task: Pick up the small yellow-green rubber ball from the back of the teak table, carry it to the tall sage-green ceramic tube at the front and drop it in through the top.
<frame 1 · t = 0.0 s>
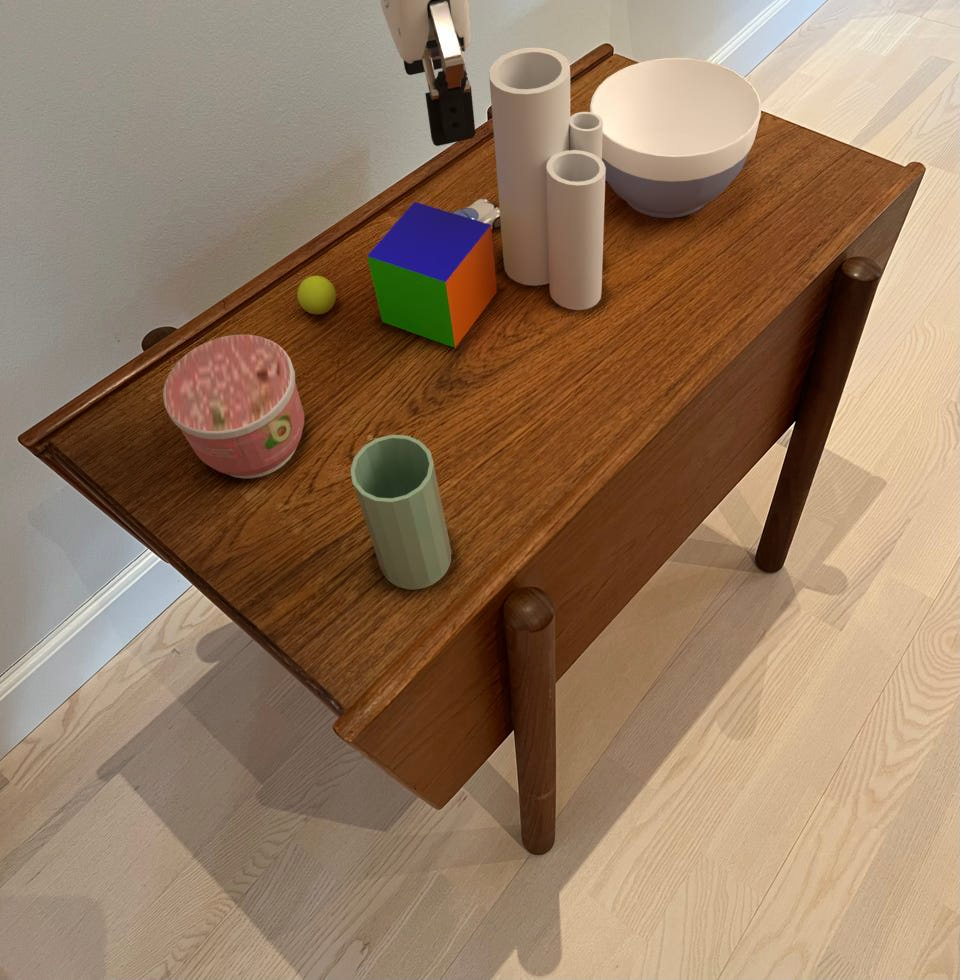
hand: (439, 103, 72), 21 cm above the table, tool pointing down, fingers open, 9 cm apart
cube: (440, 308, 89), on the table
container: (255, 444, 82), on the table
ball: (316, 295, 89), point 2 cm above the table
tube: (415, 558, 74), on the table
bowl: (666, 190, 97), on the table
toy car: (475, 228, 96), on the table
vase: (558, 272, 91), on the table
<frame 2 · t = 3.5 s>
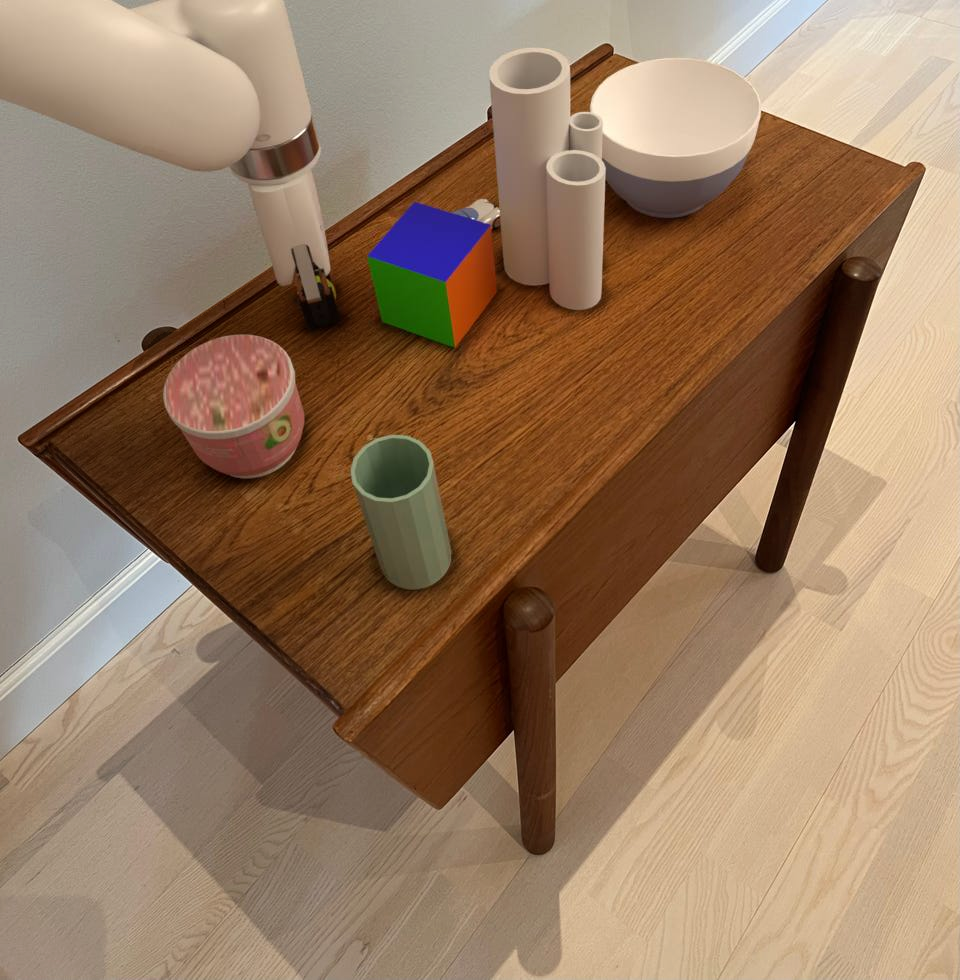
hand: (320, 307, 90), 0 cm above the table, tool pointing down, fingers closed on ball, 3 cm apart
ball: (316, 295, 89), point 2 cm above the table, touching gripper
everything else where it was.
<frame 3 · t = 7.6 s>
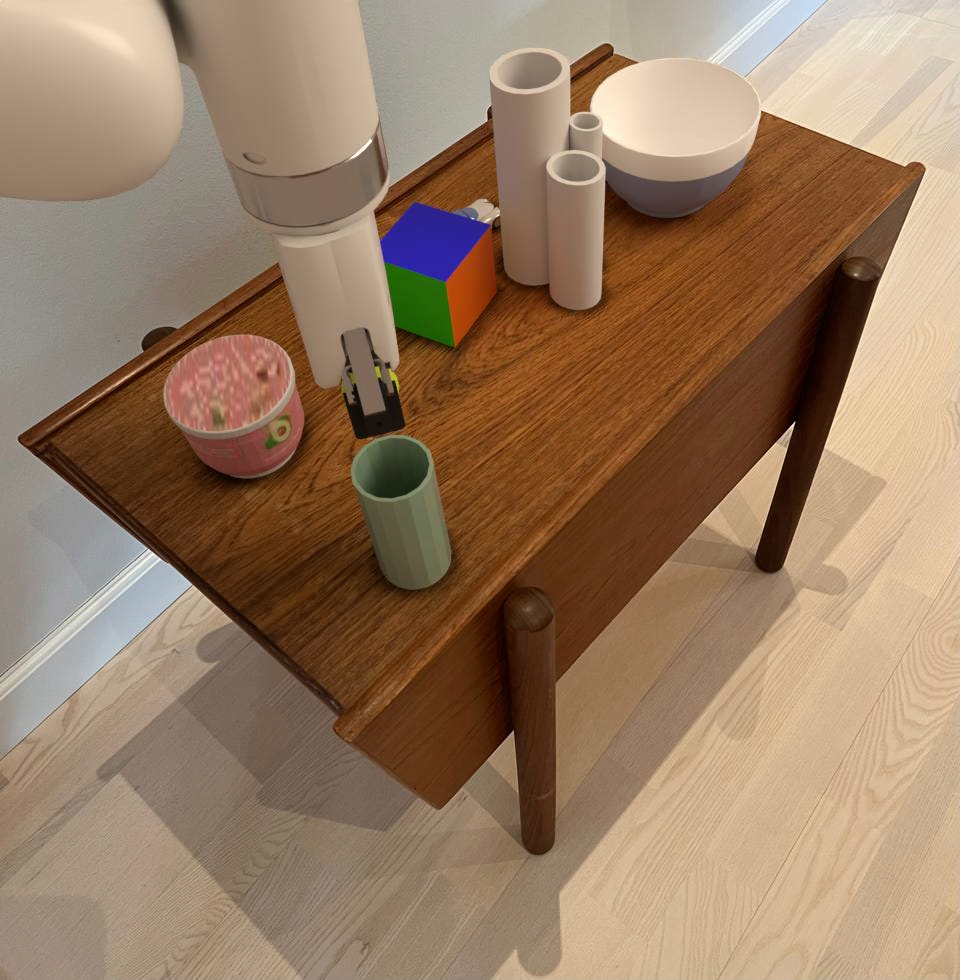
hand: (373, 404, 60), 17 cm above the table, tool pointing down, fingers closed on ball, 3 cm apart
ball: (370, 388, 59), point 19 cm above the table, touching gripper
everything else where it was.
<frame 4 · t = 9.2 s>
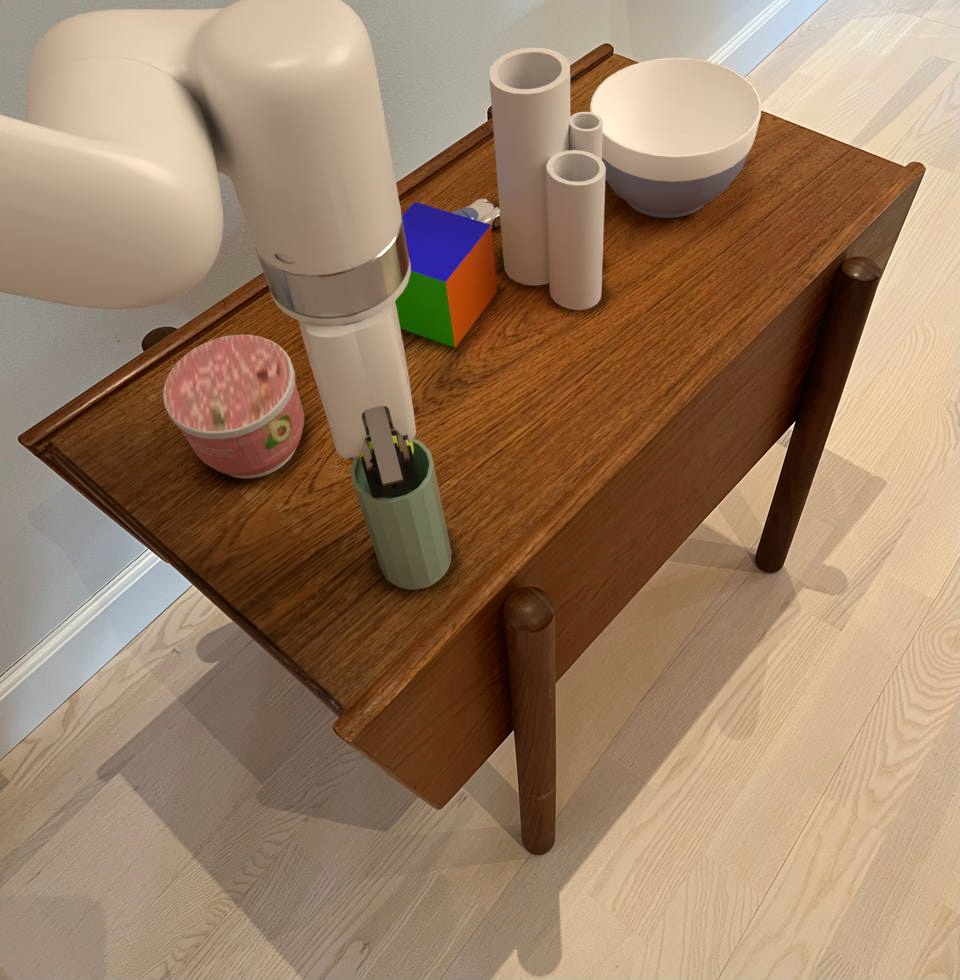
hand: (389, 464, 63), 12 cm above the table, tool pointing down, fingers closed on ball, 3 cm apart
ball: (386, 450, 62), point 14 cm above the table, touching gripper
everything else where it was.
when the fingers open (13 cm above the table, at t = 11.7 s): ball drops 12 cm, resting on tube.
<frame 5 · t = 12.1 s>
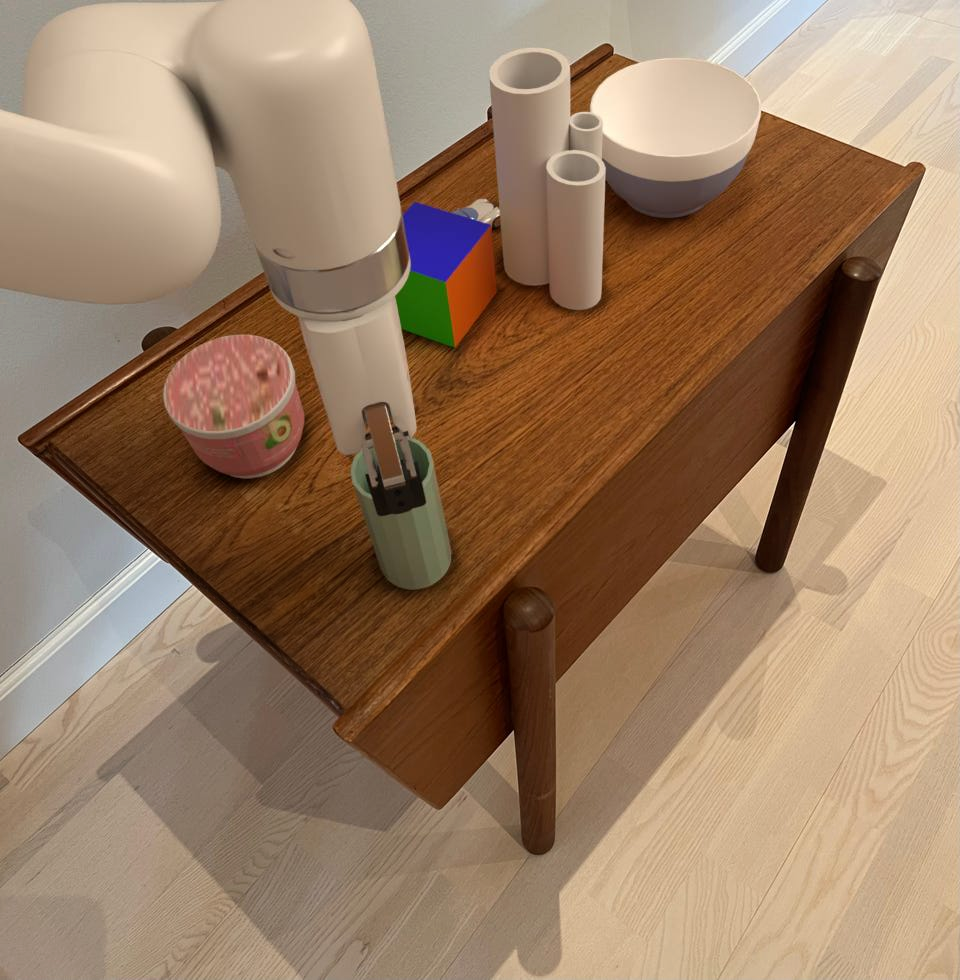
hand: (388, 453, 62), 14 cm above the table, tool pointing down, fingers open, 8 cm apart
ball: (414, 542, 72), point 2 cm above the table, touching tube
everything else where it was.
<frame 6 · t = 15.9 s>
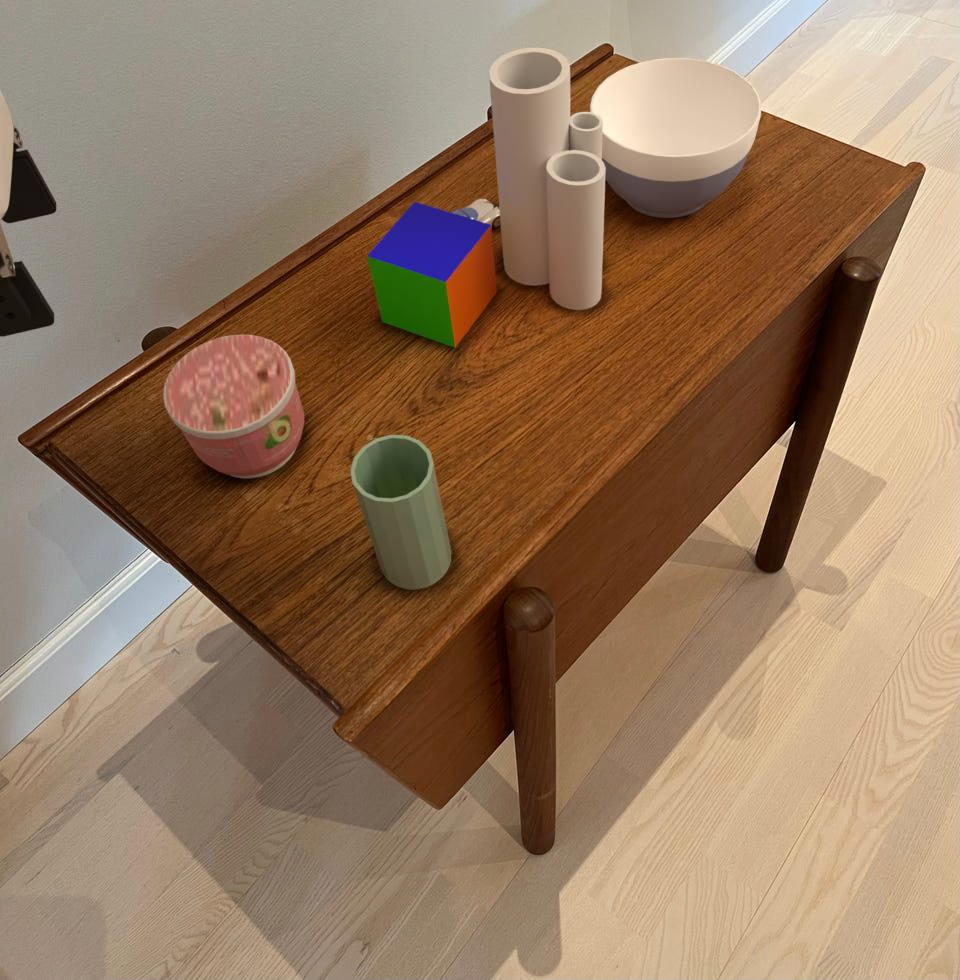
hand: (29, 268, 53), 28 cm above the table, tool pointing down, fingers open, 9 cm apart
nothing on the table moved.
at the end: ball 0.2 cm off-centre in the tube, point 2.3 cm above the tube's base; the gripper is holding nothing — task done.
